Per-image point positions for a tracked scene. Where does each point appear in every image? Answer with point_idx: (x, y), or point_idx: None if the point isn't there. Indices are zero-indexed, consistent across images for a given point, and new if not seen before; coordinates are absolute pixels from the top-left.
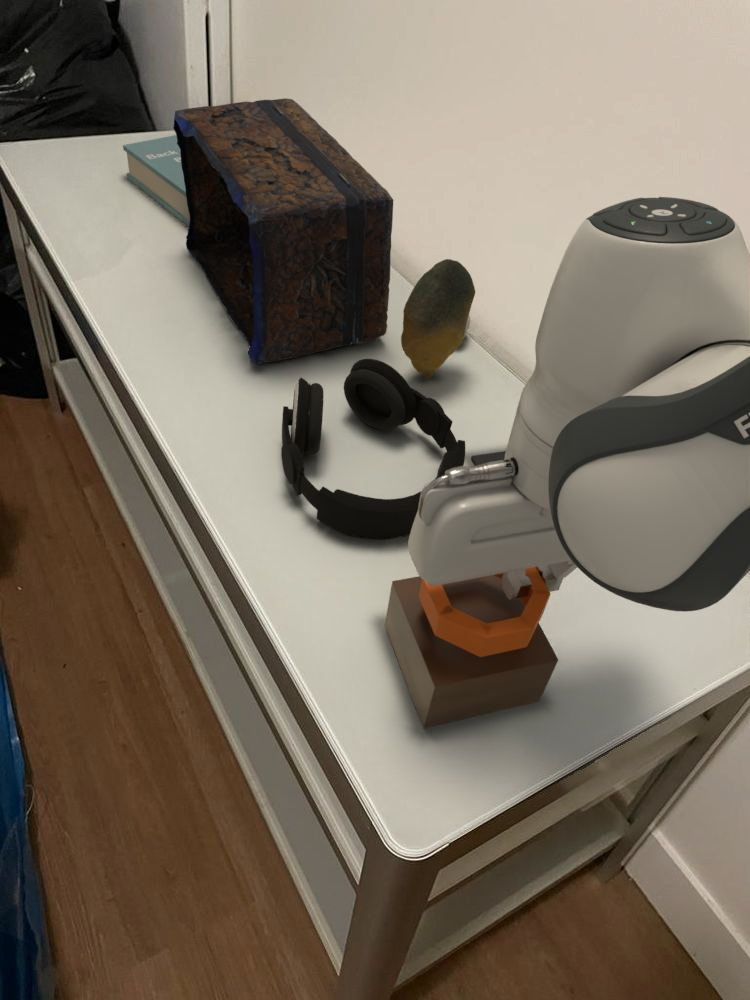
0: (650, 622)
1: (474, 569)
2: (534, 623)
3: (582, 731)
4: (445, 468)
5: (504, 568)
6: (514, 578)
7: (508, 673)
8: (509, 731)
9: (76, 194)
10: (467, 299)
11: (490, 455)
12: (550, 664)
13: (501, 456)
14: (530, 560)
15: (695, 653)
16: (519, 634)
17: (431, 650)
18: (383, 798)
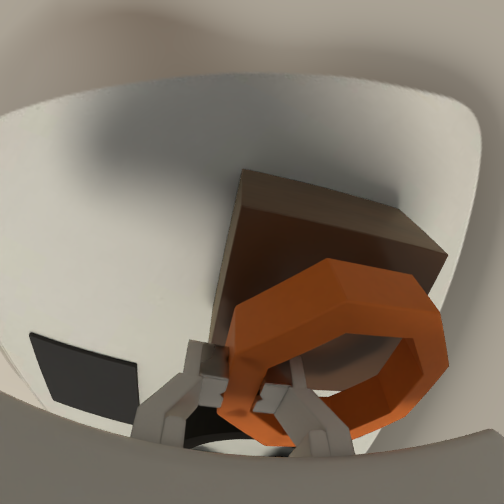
0: (36, 209)
1: (462, 467)
2: (336, 309)
3: (214, 103)
4: (190, 447)
5: (405, 469)
6: (324, 416)
7: (340, 223)
8: (311, 151)
9: None
10: None
11: (122, 420)
12: (255, 204)
13: (112, 416)
14: (347, 489)
15: (12, 152)
16: (372, 295)
17: None
18: (470, 167)
